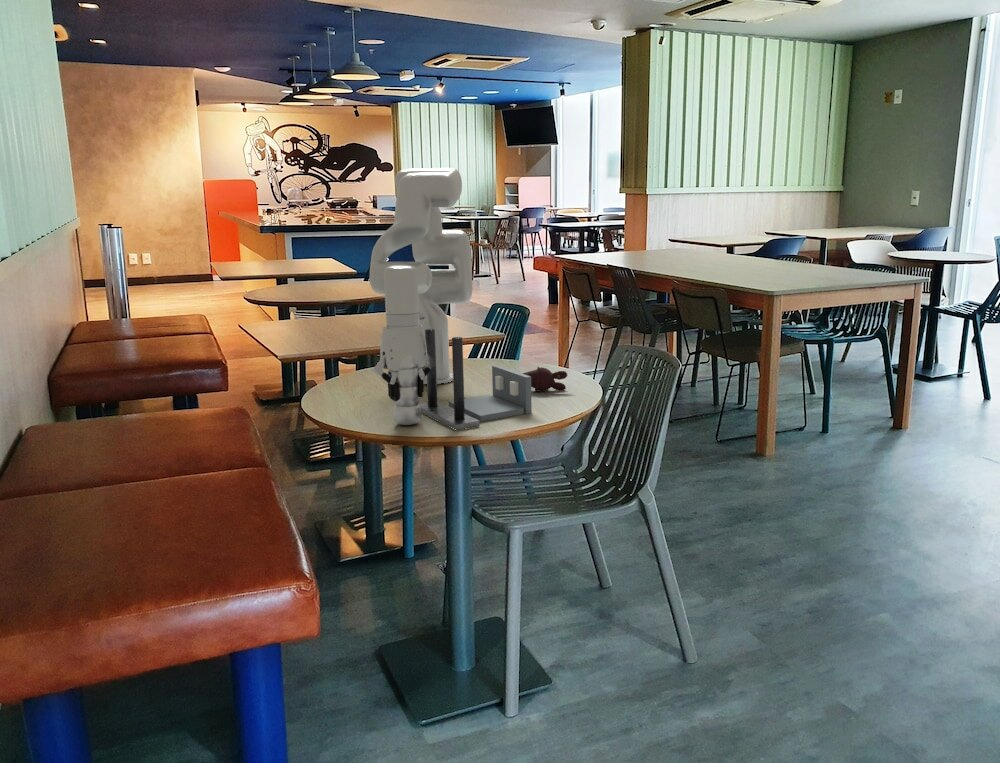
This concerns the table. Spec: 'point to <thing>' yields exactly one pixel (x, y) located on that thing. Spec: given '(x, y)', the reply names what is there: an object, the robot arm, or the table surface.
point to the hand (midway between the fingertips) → (406, 397)
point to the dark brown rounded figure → (546, 379)
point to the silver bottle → (407, 393)
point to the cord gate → (441, 411)
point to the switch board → (501, 396)
